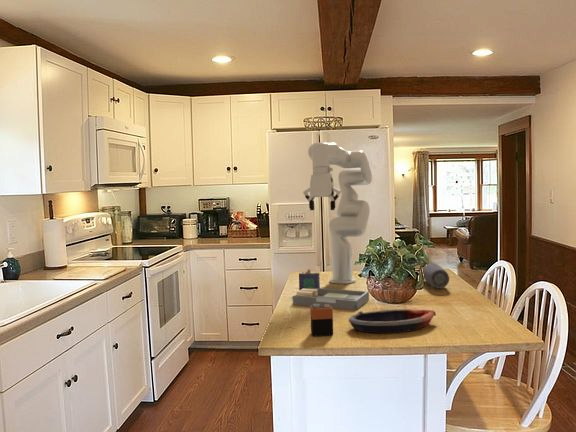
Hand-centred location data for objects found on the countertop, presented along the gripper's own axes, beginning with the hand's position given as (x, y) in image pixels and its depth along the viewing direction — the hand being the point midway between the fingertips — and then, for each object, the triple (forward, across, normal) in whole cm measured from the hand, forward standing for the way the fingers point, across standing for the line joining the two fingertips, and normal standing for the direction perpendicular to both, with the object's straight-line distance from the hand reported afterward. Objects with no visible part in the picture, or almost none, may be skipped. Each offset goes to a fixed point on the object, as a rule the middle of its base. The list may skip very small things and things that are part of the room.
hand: (322, 210), depth 222 cm
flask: (+37, +6, +3) cm, 38 cm away
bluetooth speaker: (+37, -43, -28) cm, 63 cm away
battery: (+37, -21, +56) cm, 70 cm away
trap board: (+37, -9, +16) cm, 41 cm away
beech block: (+35, 0, +19) cm, 40 cm away
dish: (+37, -41, +41) cm, 69 cm away
